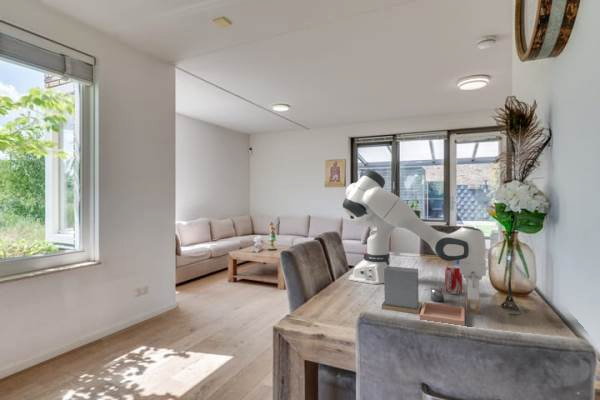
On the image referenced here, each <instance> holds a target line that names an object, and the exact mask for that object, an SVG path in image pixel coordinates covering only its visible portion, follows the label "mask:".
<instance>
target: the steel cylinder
mask: <svg viewBox="0 0 600 400" xmlns="http://www.w3.org/2000/svg"><path fill="white" fill-rule="evenodd" d="M444 291H445V290H444V288H443V287H438V286H432V287H430V301H432V303H436V304H440V303H441V304H443V303H444V301H445V292H444Z"/></svg>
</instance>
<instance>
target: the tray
mask: <svg viewBox="0 0 600 400" xmlns="http://www.w3.org/2000/svg"><path fill="white" fill-rule="evenodd" d="M420 320H427V321H434V322H441V323H448V324H454V325H461V326H465V325H466V324H465V323H466V322H465V307H464V306H463V307H462V306H456V305H448V304H443V303H441V304H440V303H435V302H426V301H424V302H423V303H422V308H421V311H420V314H419V321H420Z"/></svg>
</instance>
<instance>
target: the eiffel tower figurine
mask: <svg viewBox="0 0 600 400" xmlns="http://www.w3.org/2000/svg"><path fill="white" fill-rule="evenodd" d="M507 289H508V290H507V294H506V298H505V299H504V301H503V302H502V303H501V304H500V305H499V306H500V307H501V309H503V310H504V311H514V312H518V313H508V315H509V316H512V317H517V316H520V315H522V314H525V313H528V312H531V311H532V309H530V308H529V307H527V308H525V307H526V306H522V305H519V306H517V303H516V301H515V300H514V297H513V293H512V285H511V278H510V275H509V278H508V288H507ZM528 308H529V309H530V310H529V309H528Z"/></svg>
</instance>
